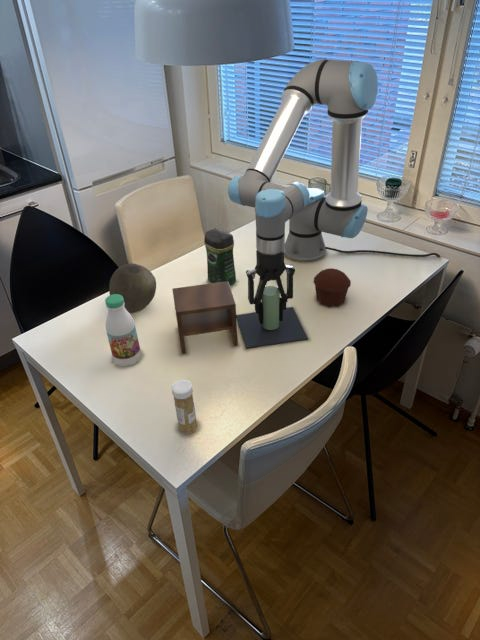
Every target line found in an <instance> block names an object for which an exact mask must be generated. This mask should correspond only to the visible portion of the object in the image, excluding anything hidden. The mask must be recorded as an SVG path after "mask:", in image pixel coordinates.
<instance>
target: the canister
mask: <svg viewBox="0 0 480 640" xmlns="http://www.w3.org/2000/svg"><path fill="white" fill-rule="evenodd" d="M280 297H281V295H280V291H279V288H278V286H274V285H265V289H264V292H263V296H262V299H261V302H262V305H263V324H262V327H263V328H264V329H266V330H275V329H277V328H278V327H279V321H280Z"/></svg>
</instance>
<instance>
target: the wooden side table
mask: <svg viewBox="0 0 480 640" xmlns="http://www.w3.org/2000/svg"><path fill="white" fill-rule="evenodd" d="M171 290H172V296H173V303H174V309H175V311H174V312H175V316H176V322H177V324H176V325H177V330H178V338H179V343H180V344H179V345H180V351H181V355H185V354H187V350H186V342H185V337H190V336H197V335H203V334H209V333H210V334H211V333H217V332H223V331H229V334H230V338H231V342H232V344H233V347H238V346H239V341H238V321H237V318H236V315H237V303H236V301H235V298H234V294H233V291H232V289H231V286H230V285H229V282H228V281H225V282H217V283H210V282H209V283H203V284H196V285H195V284H194V285H189V286H182V287H181V286H180V287H173V288H172V289H171Z"/></svg>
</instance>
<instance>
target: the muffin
mask: <svg viewBox="0 0 480 640" xmlns="http://www.w3.org/2000/svg"><path fill="white" fill-rule="evenodd" d="M312 283H313V284H314V288H315V297H316V301H317V302H318V303H319V305H321V306H324V307H328V308H336V307H337V308H338V307H339V306H341V305H344V304H345V301H346V297H347V294H348V290H349V289H350V287H351V285H352V280H350V278H349V277H348V275H346V273H345V272H344V271H342V270H340V269H339V268H333V267H332V268H331V267H330V268H325V269H322V270H320V271H319V272H317V274H316V275H315V276H314V277H313V282H312Z"/></svg>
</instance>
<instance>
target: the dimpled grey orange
mask: <svg viewBox="0 0 480 640" xmlns="http://www.w3.org/2000/svg"><path fill="white" fill-rule="evenodd" d="M108 289H109V290H108V291H109V292H108V293H109V296H110V295H113V294H119V295H121V296H122V297H123V299H124V307H125V309H126V310H127V311H128V313H129V314H134V313H138V312H141V311H143V310H144V309H146V308H147V307H148V306H149V305H150V303H151V302H152V301H153V300H154V297H155V295H156V291H157V280H156V277H155V275H154V274H153V273H152V271H150V269H148V268H147V267H145V266H143V265H141V264H138V263H125V264H123V265H121V266H119V267H118V268H116V270H115V271H114V272H113V273H112V275H111V277H110V280H109V287H108Z"/></svg>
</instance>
